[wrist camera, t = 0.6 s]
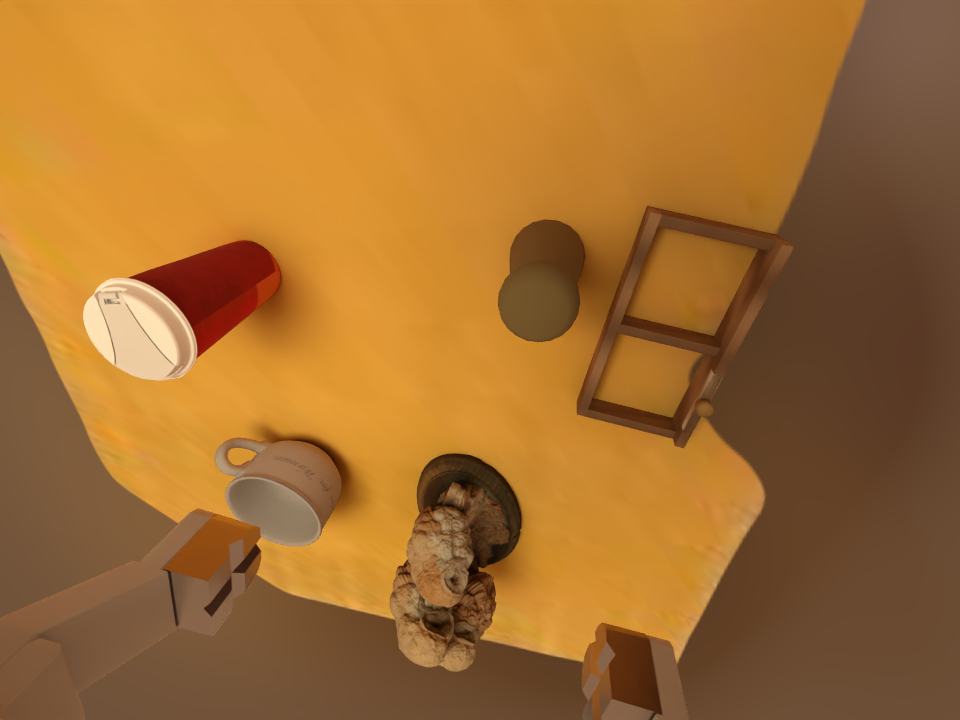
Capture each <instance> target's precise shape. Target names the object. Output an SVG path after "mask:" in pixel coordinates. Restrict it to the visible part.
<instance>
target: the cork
mask: <svg viewBox="0 0 960 720" xmlns="http://www.w3.org/2000/svg"><path fill="white" fill-rule="evenodd" d="M584 259H585V253H584V246H583V243H582V241H581V239H580V237H579V236H578V234H577V233H576V232H575V231H574V230H573V229H572V228H571V227H570V226H568V225H566V224H564V223H561V222H559V221H554V220H542V221H537V222H533V223H532V224H530V225H528V226H526V227H525V228H523V229H522V230H521V231H520V233H519V234H518V235H517V236H516V237H515V239H514V242H513V244H512V246H511V251H510V274H509V275H508V276H507V277H506V279H505V280H504V283H503V285H502V287H501V289H500V292H499V298H498V307H499V311H500V315H501V319H502V320H503V322H504V324H505V325H506V327H507V328H508V329H509V330H510V331H511V332H512V333H514V334H515V335H516V336H518V337H520V338H523V339H525V340H527V341H534V342H544V341H551V340H553V339H555V338H557V337H560V336H562V335H563V334H564V333H565V332H566V331H567V330H568V329H569V328H570V327H571V326H572V324H573V323H574V321H575V319H576V317H577V315H578V312H579V306H580V297H579V291H578V287H577V285H576V284H577V281H578V279H579V276H580V274H581V271H582V268H583V264H584Z"/></svg>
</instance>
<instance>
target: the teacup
mask: <svg viewBox="0 0 960 720" xmlns="http://www.w3.org/2000/svg"><path fill="white" fill-rule="evenodd" d="M231 448H245V449H249V450H252V451H254V452H256V453H257V455H256V456H255V457H254V458H253V459H252V460H251V461H247V462H245V463H244V464H242V465H239V466H237V465H233V464H232V463H231V462H230V461H229V460H228V458H227V454H228V451H229V450H230V449H231ZM215 464H216V466H217V468H218V469H219V470H220V471H221V472H222V473H224V474H226V475H230V476H236V478H235V479H234V480H233V481H232V482H231V483H230V484H229V485H228V487H227V489H226V492H225V497H226V502H227V504H228V507H229V509H230V510H231V512H232V513H233V515H234V516H235V517H236V518H237V519H238V520H239V521H241V522H245V523H248V524H251V525H254V526H257V527H260V534H261V537H262V538H264V539H266V540H269V541H271V542H274V543H277V544H281V545H285V546H306V545H310V544H311V543H313V542H315V541H316V540H317V539H318V538H319V536H320V535H321V532H322V529H323V527H324V525H325V524H326V522H327V520H328V519H329V517H330V515H331V513H332V511H333V509H334V508H335V506H336V504H337V502H338V499H339V497H340V493H341V487H342V482H341V477H340V474H339V472H338V469H337V468H336V466H335V464H334V462H333V461H332V459H331V458H330V457H329V456H328V455H327V454H326V453H325V452H324V451H323V450H321V449H320V448H318V447H317V446H315V445H312V444H310V443H307V442H302V441H290V440H286V441H279V442H275V443H270V442H269V441H262V442H259V441H255V440H251V439H247V438H233V439H230V440H227V441H225V442H224V443H223V444H222V445H220V446H219V448H218V449H217V451H216V453H215Z"/></svg>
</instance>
